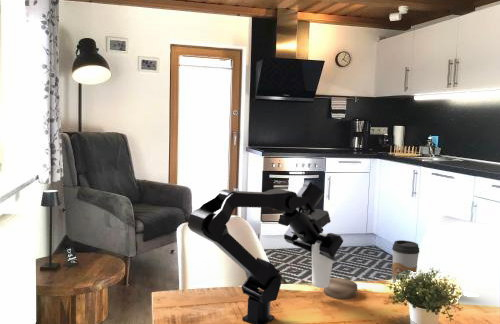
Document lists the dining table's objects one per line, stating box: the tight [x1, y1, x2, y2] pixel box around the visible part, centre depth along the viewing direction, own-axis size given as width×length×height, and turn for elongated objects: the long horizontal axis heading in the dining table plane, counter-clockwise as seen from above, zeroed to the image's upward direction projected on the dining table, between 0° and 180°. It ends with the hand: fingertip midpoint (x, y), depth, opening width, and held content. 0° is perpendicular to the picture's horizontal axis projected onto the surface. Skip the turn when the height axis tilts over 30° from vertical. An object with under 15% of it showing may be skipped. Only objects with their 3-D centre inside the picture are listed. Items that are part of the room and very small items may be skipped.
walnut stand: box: [323, 277, 358, 301], centre depth 141 cm, size 10×10×3 cm
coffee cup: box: [391, 239, 420, 284], centre depth 146 cm, size 8×8×15 cm
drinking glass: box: [311, 232, 334, 289], centre depth 134 cm, size 7×7×15 cm
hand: (324, 255), depth 135 cm, fingers closed on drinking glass, 7 cm apart
